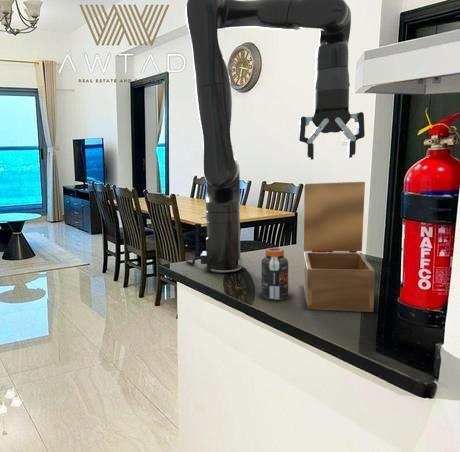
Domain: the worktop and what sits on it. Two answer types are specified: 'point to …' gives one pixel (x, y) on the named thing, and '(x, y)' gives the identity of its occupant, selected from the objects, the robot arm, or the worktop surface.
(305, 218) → the lid
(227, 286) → the worktop surface
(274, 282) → the pill bottle
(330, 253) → the chest
